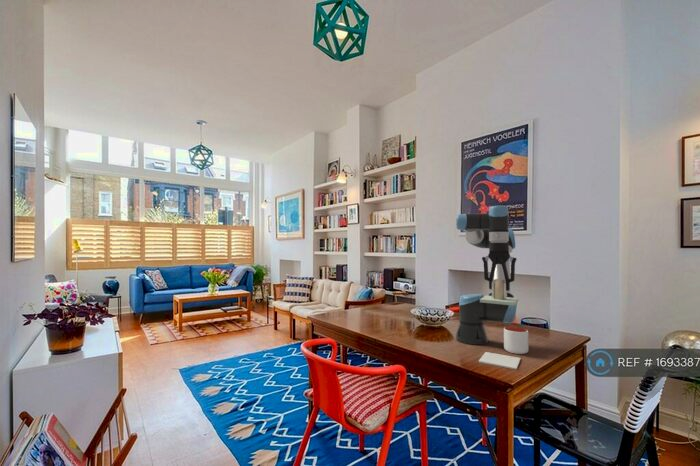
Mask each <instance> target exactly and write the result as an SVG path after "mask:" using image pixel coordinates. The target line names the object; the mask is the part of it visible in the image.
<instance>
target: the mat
mask: <svg viewBox="0 0 700 466" xmlns="http://www.w3.org/2000/svg"><path fill="white" fill-rule="evenodd" d="M521 360H522V358H521V357H516V356H511V355H506V354H500V353H493V352H489V351H488V352H487V351H485V352H484V353H483V354H482V356H481V357H480V358H479V360H478V363H479V364H484V365H489V366H495V367H500V368H506V369H511V370H515V371H517V370H518V367H519V364H520V362H521Z"/></svg>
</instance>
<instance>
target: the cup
mask: <svg viewBox="0 0 700 466" xmlns="http://www.w3.org/2000/svg"><path fill="white" fill-rule="evenodd" d="M503 349H504V350H505V351H506V352H508V353H510V354H515V355H525V354H527V353H528V352H529V331H528V329H526V328H523V327H519V326H505V327H503Z"/></svg>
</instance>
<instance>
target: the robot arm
mask: <svg viewBox="0 0 700 466" xmlns="http://www.w3.org/2000/svg"><path fill="white" fill-rule="evenodd" d="M509 214H510V213H509V207H508V205H494V206H493V205H492V206H490V207H489V209H488V212H484V213H459V214H457V215H456V218H455V219H456V220H455V223H456V224H455V226H456V229H457V230H459V231H464V233H465V236H464V237H465V240H466V241H467V242H468V243H469V245H472V246H474V247H476V248H479V249H488V254H487V256H482V257H481V260H482V262H483V277H484V280H485V281H487V282H488V288H489V290H491V291H490V292H489V293H488V295H487V296H492V298H494V279H502V280H504V299H506V298H507V297H510V298H515V295H513V293H511V283H513V282H514V281H515V279H516V278H515V272H516V271H515V269H516V262H517V260H518V258H517V257H514V256H511V253H512V252H513V249H515V248H516V240H515V239H516V238H515V233H514V230H513V229H512V228H510V227H509ZM489 260H490V261H491V268H490V272H489V263H488V262H489ZM489 273H490V274H489ZM484 296H485V295H484V294H482V293H468V294H463V295H460V297H459V304H458V306H459V307H458V309H459V315H458V316H459V320H458V321H459V323H458V324H459V325H458V327H457V330H456V333H455V340H456V341H457V342H460V343H463V344H466V345H467V344H468V345H486V344H488V341H489V339H488V335H487V331H486V328H485V327H484V326H485V325H484V323H485V322H493V323H503V324H513V323H515V321H516V315H517V307H518V302H517V303H516V305H515V306H513V305H503V304H493V303H482V302H480V299H481V298H483V297H484Z"/></svg>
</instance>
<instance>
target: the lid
mask: <svg viewBox="0 0 700 466" xmlns="http://www.w3.org/2000/svg"><path fill="white" fill-rule="evenodd" d="M483 296H484V297H483V298H481V299H480V302H482V303H493V304H503V305H513V306H515V305H516V303H517V304H518V302H519V297H514V298H510V297H507V298H506V299H504V280H502V279H494V298H492V296H488V295H487V294H486V295H483Z"/></svg>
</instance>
